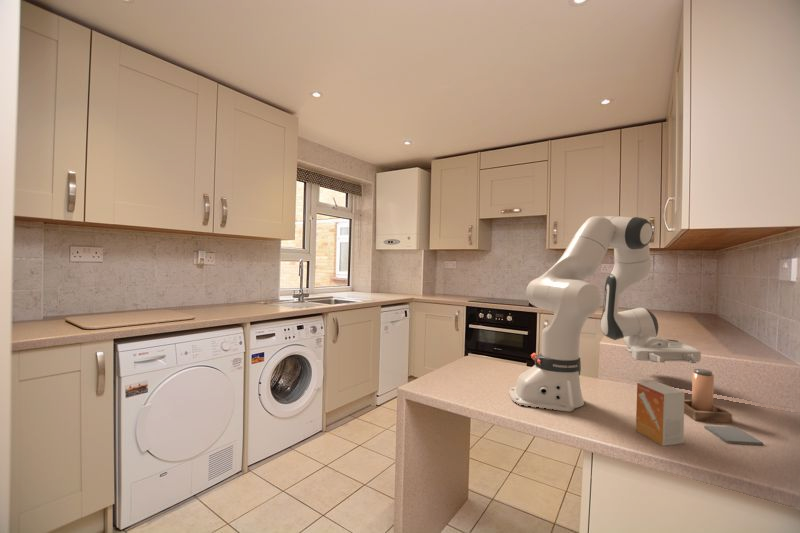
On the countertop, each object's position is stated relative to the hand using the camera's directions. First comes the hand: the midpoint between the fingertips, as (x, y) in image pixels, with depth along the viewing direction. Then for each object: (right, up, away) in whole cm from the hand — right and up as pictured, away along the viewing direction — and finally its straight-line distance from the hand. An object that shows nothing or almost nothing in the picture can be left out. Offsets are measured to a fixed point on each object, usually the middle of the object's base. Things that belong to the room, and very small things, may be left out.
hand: (678, 360), depth 119 cm
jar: (-2, -13, -12) cm, 17 cm away
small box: (-24, -13, -25) cm, 37 cm away
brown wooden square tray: (-2, -13, -12) cm, 17 cm away
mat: (-5, -13, -25) cm, 28 cm away
